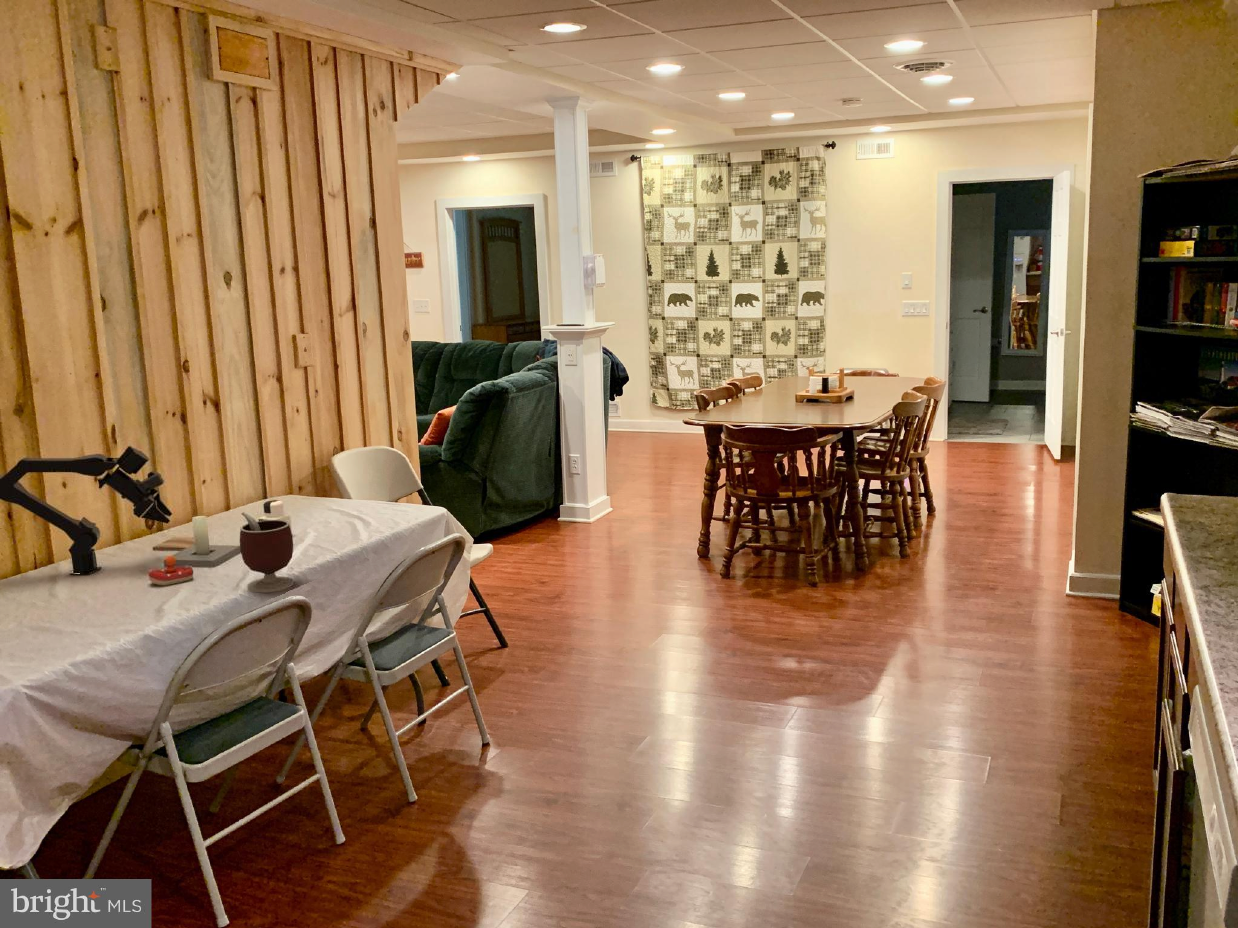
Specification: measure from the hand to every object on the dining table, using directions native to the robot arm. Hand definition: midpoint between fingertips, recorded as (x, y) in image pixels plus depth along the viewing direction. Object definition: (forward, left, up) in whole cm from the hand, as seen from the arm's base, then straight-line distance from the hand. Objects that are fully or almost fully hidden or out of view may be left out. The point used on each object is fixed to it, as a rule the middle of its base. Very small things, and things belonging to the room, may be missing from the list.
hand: (170, 518), depth 320 cm
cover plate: (+4, -7, -13) cm, 16 cm away
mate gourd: (-19, -40, -14) cm, 47 cm away
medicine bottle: (+29, -18, -14) cm, 37 cm away
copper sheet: (+18, +9, -13) cm, 24 cm away
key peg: (+4, -7, -13) cm, 16 cm away
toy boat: (-18, -10, -14) cm, 25 cm away
